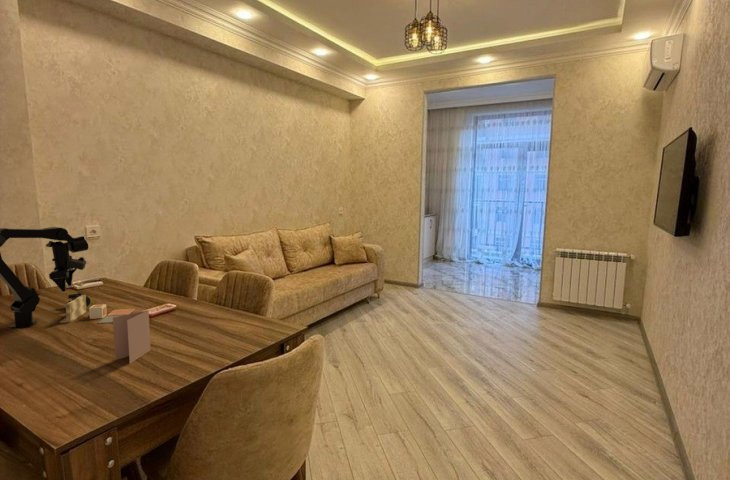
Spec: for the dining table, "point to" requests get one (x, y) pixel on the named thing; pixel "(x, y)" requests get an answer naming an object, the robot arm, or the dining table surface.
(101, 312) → the marked cube
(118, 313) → the terracotta tile
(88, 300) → the end cap
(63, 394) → the dining table surface
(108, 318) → the slate tile
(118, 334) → the greeting card
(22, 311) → the robot arm
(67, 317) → the beech screen
